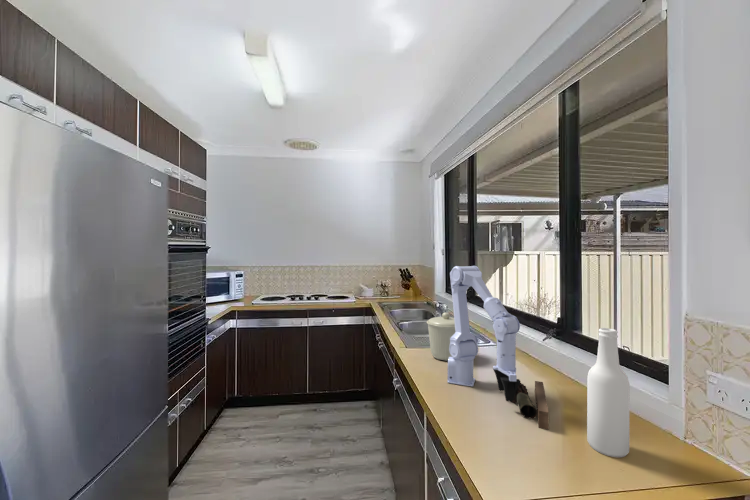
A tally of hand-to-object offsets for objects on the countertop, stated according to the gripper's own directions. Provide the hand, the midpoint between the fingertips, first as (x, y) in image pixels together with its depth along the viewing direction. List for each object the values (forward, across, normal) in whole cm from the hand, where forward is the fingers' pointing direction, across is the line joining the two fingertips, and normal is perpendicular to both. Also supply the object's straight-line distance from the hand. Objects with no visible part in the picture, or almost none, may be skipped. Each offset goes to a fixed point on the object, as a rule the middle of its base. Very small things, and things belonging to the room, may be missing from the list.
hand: (505, 395), depth 110 cm
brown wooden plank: (+3, +3, +10) cm, 11 cm away
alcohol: (+3, +23, +18) cm, 29 cm away
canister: (+3, -48, -14) cm, 50 cm away
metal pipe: (+3, 0, +5) cm, 6 cm away
